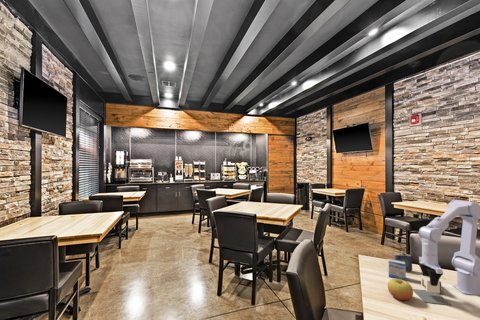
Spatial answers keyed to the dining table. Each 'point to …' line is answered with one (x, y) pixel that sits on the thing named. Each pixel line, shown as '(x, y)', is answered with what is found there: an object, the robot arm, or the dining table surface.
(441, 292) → the walnut screen
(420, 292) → the slate pad
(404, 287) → the apple
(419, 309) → the dining table surface
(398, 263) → the medicine box
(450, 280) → the dining table surface
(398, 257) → the flask
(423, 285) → the letter cube
